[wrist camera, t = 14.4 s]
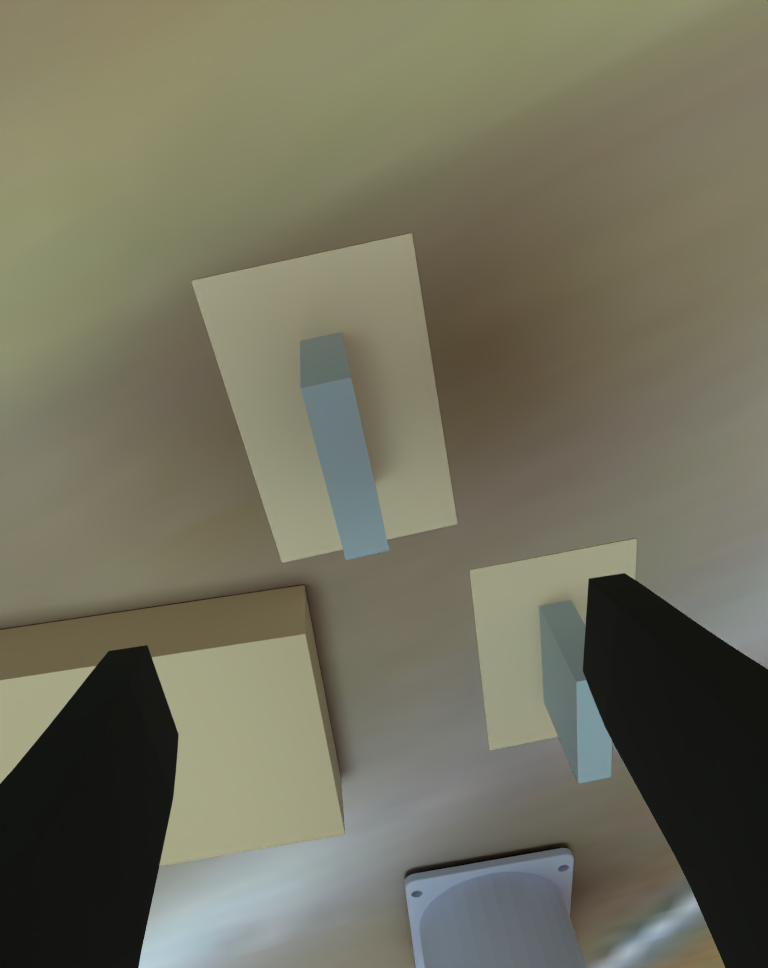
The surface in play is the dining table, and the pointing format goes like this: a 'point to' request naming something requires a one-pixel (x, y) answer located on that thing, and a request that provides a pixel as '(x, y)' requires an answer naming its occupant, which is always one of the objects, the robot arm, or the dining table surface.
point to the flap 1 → (334, 396)
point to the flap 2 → (544, 651)
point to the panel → (203, 713)
